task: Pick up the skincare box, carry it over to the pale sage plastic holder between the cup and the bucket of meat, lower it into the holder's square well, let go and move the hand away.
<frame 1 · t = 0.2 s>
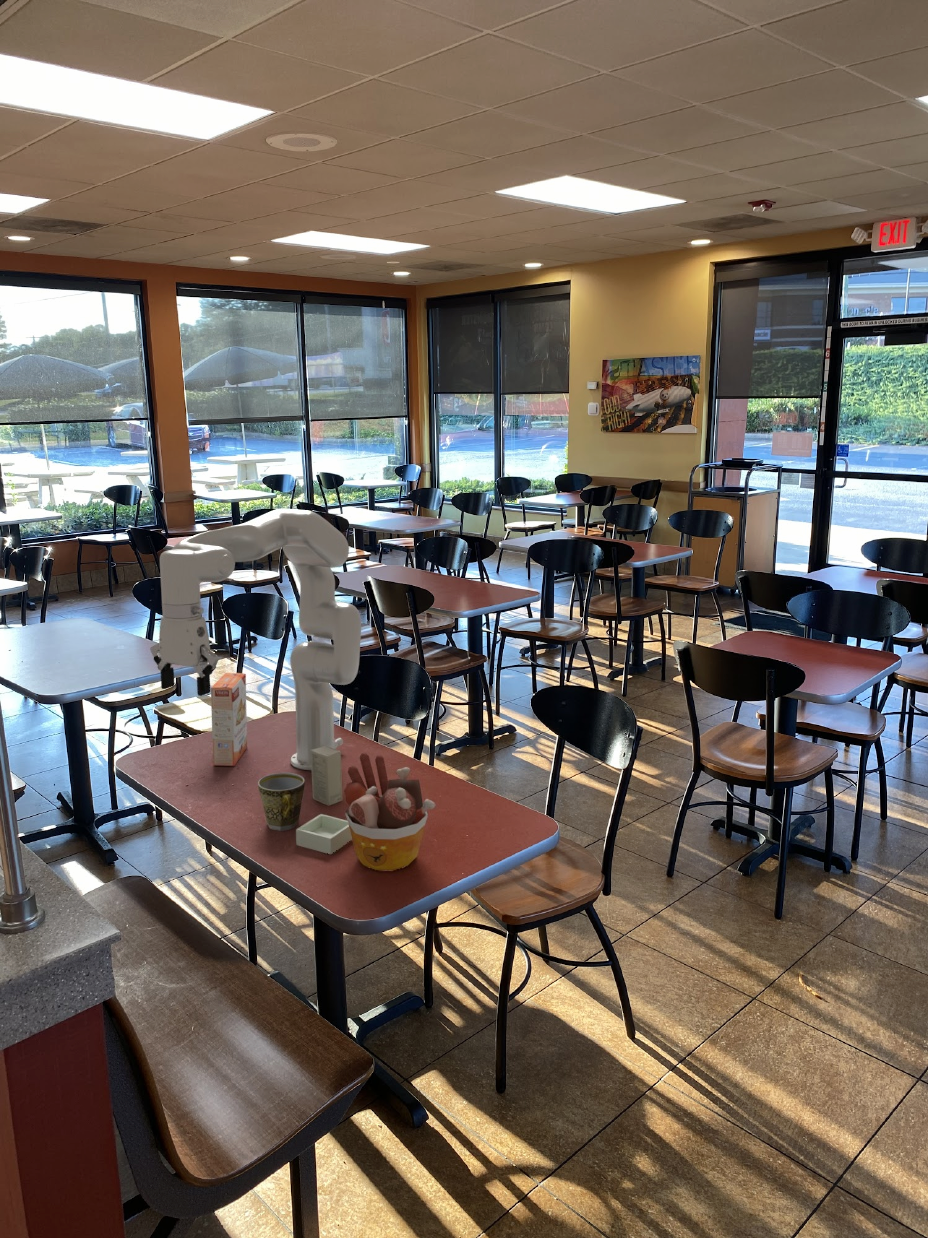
hand: (185, 690, 192), 31 cm above the table, tool pointing down, fingers open, 9 cm apart
bucket of meat: (385, 859, 187), on the table
holder: (325, 841, 194), on the table
ceramic cup: (284, 827, 201), on the table
skincare box: (327, 800, 215), on the table
cracker box: (231, 757, 240), on the table
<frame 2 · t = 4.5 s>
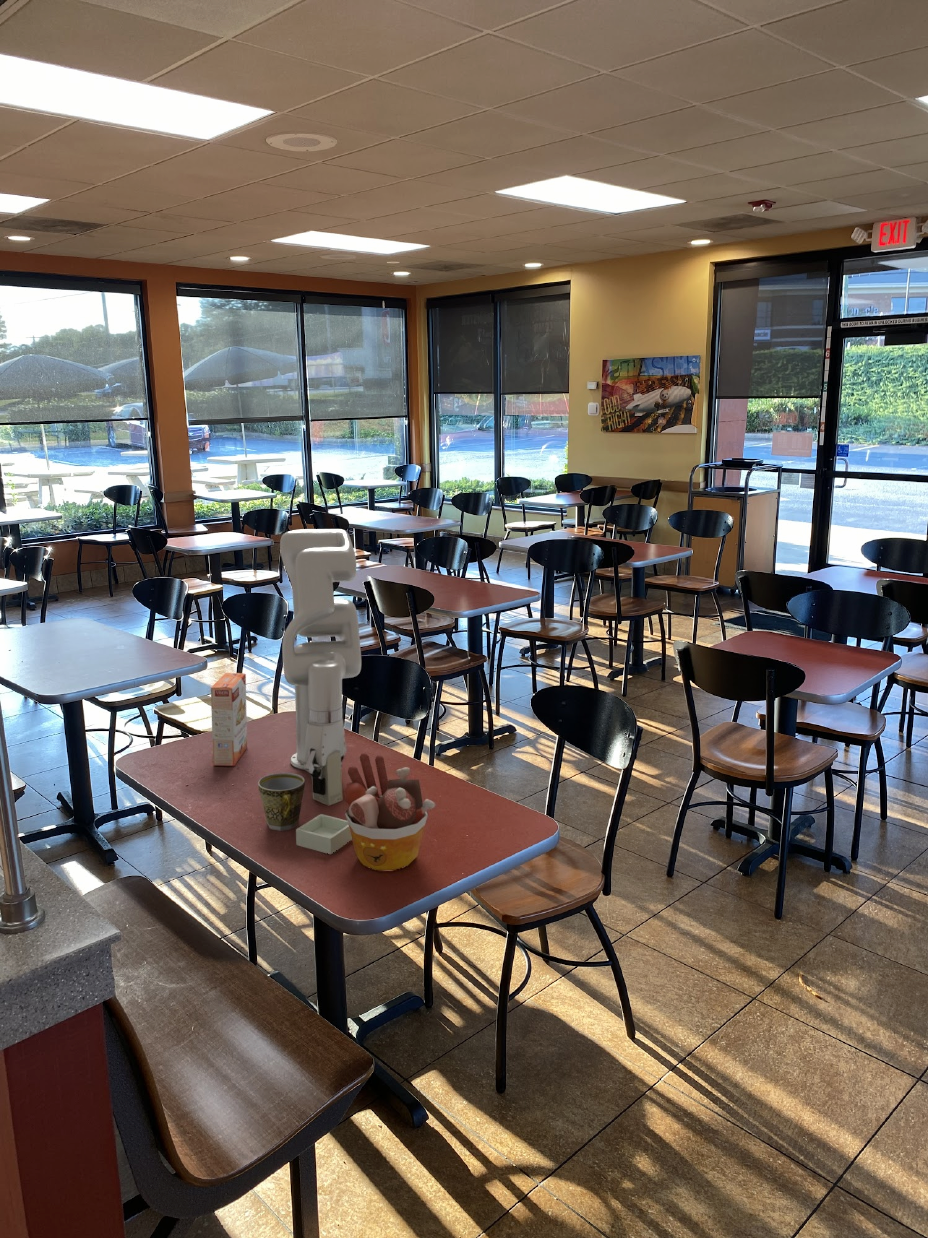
hand: (326, 788, 214), 3 cm above the table, tool pointing down, fingers closed on skincare box, 5 cm apart
skincare box: (326, 800, 215), on the table, touching gripper
everything else where it was.
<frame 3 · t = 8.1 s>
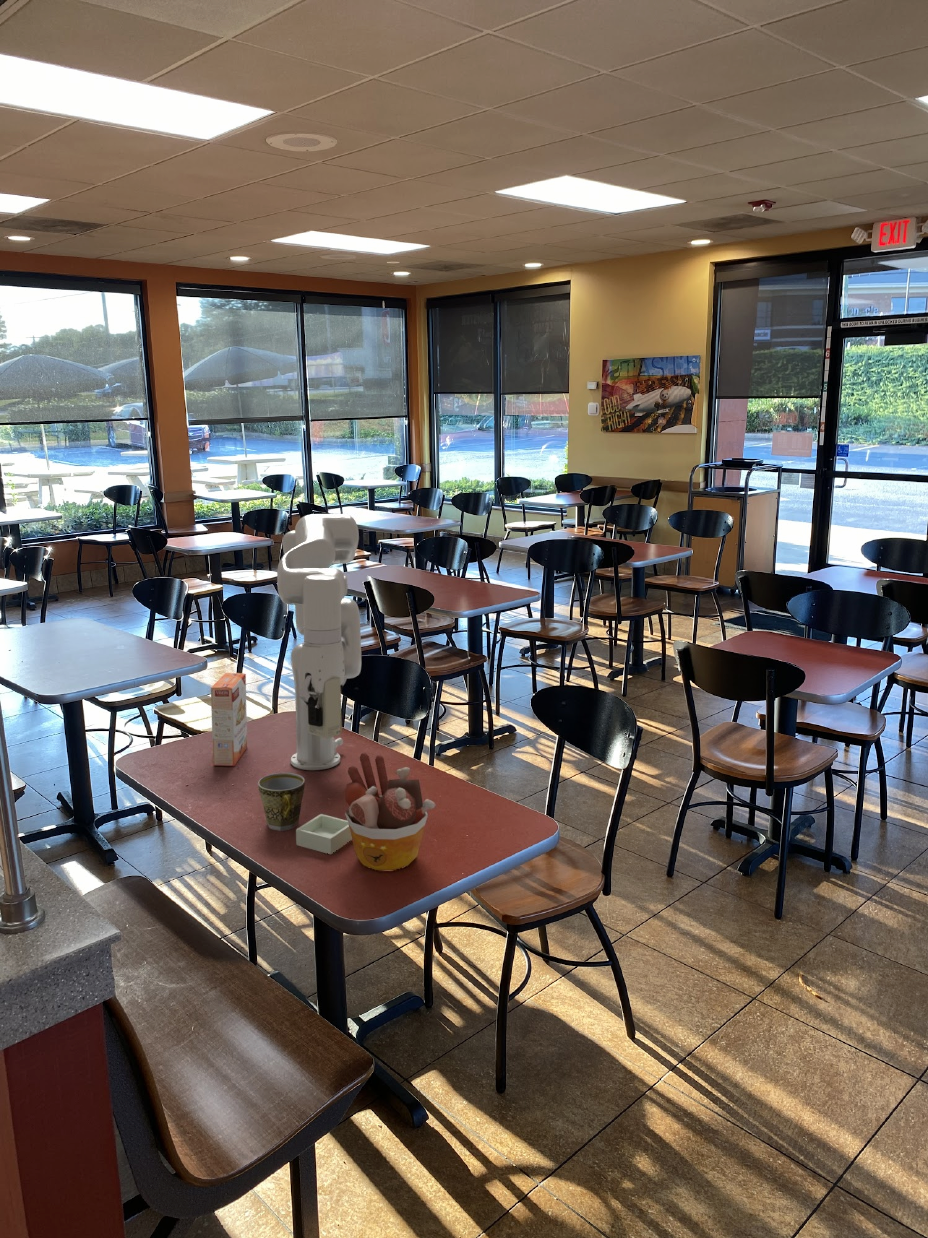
hand: (324, 720, 191), 26 cm above the table, tool pointing down, fingers closed on skincare box, 5 cm apart
skincare box: (324, 734, 191), point 23 cm above the table, touching gripper
everything else where it was.
when the fingers open (5 cm above the table, at t = 11.7 s): skincare box stays where it is, resting on holder.
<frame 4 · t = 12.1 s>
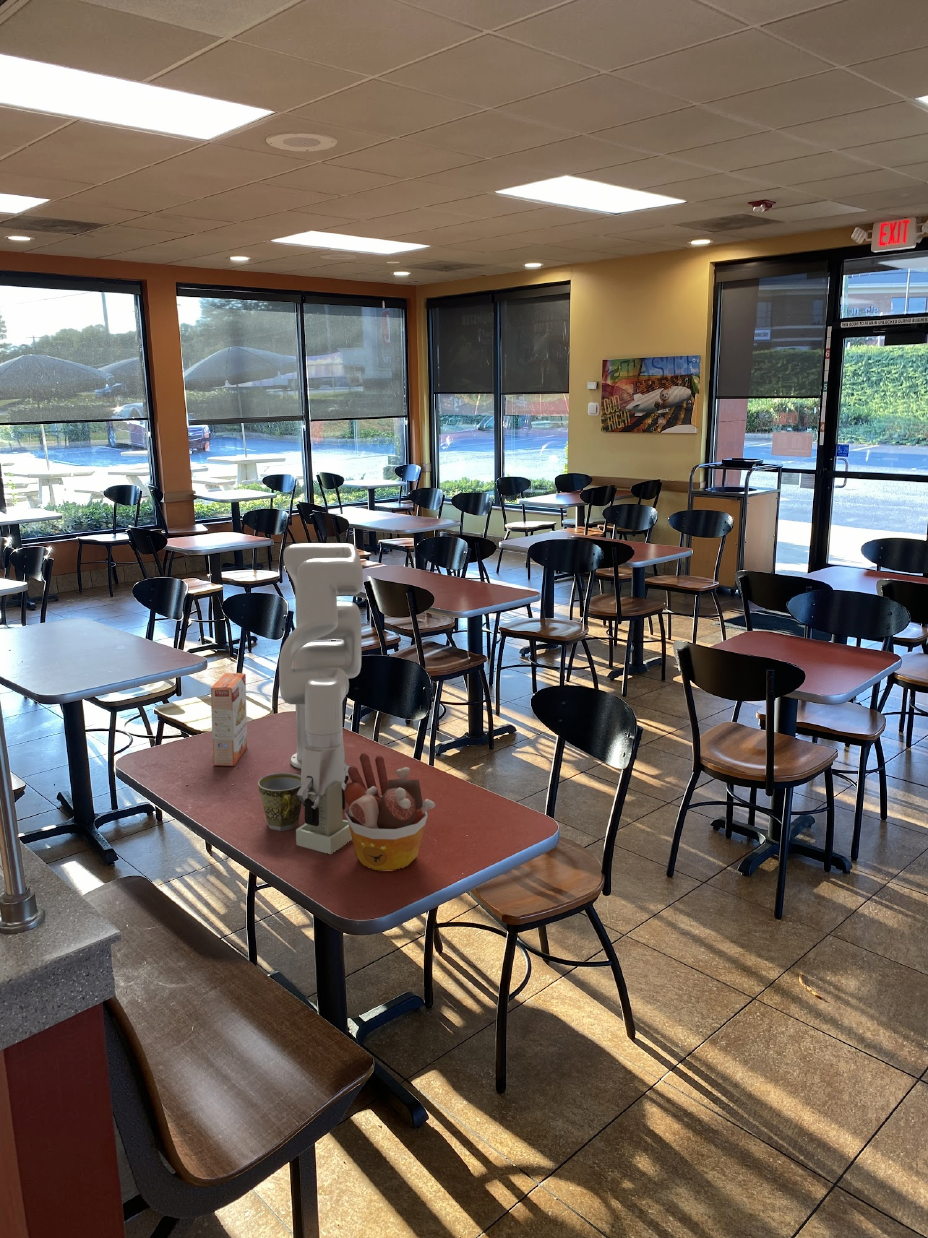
hand: (325, 816, 193), 6 cm above the table, tool pointing down, fingers open, 8 cm apart
skincare box: (325, 837, 194), point 1 cm above the table, touching holder
everything else where it was.
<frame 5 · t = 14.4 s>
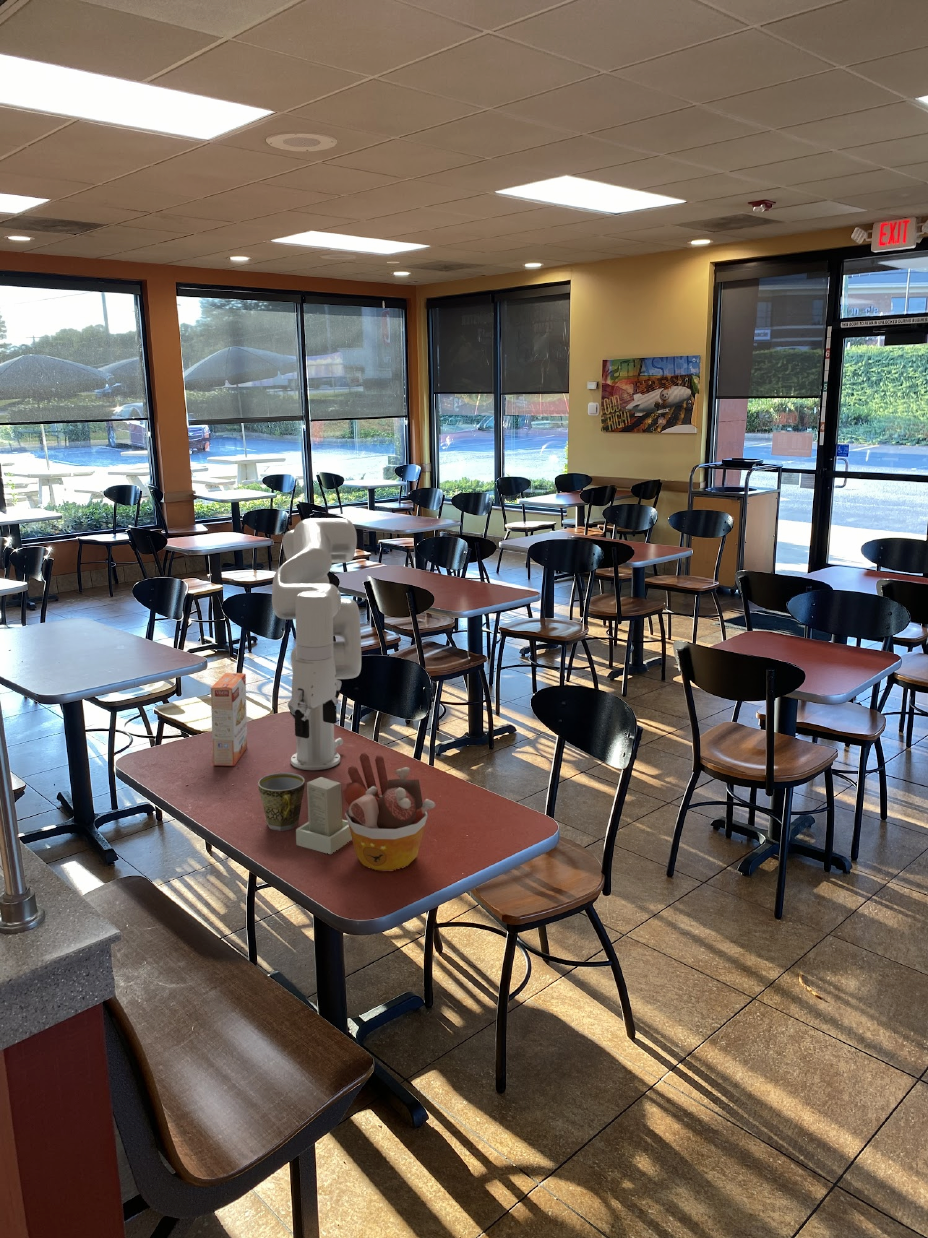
hand: (316, 729, 194), 23 cm above the table, tool pointing down, fingers open, 9 cm apart
nothing on the table moved.
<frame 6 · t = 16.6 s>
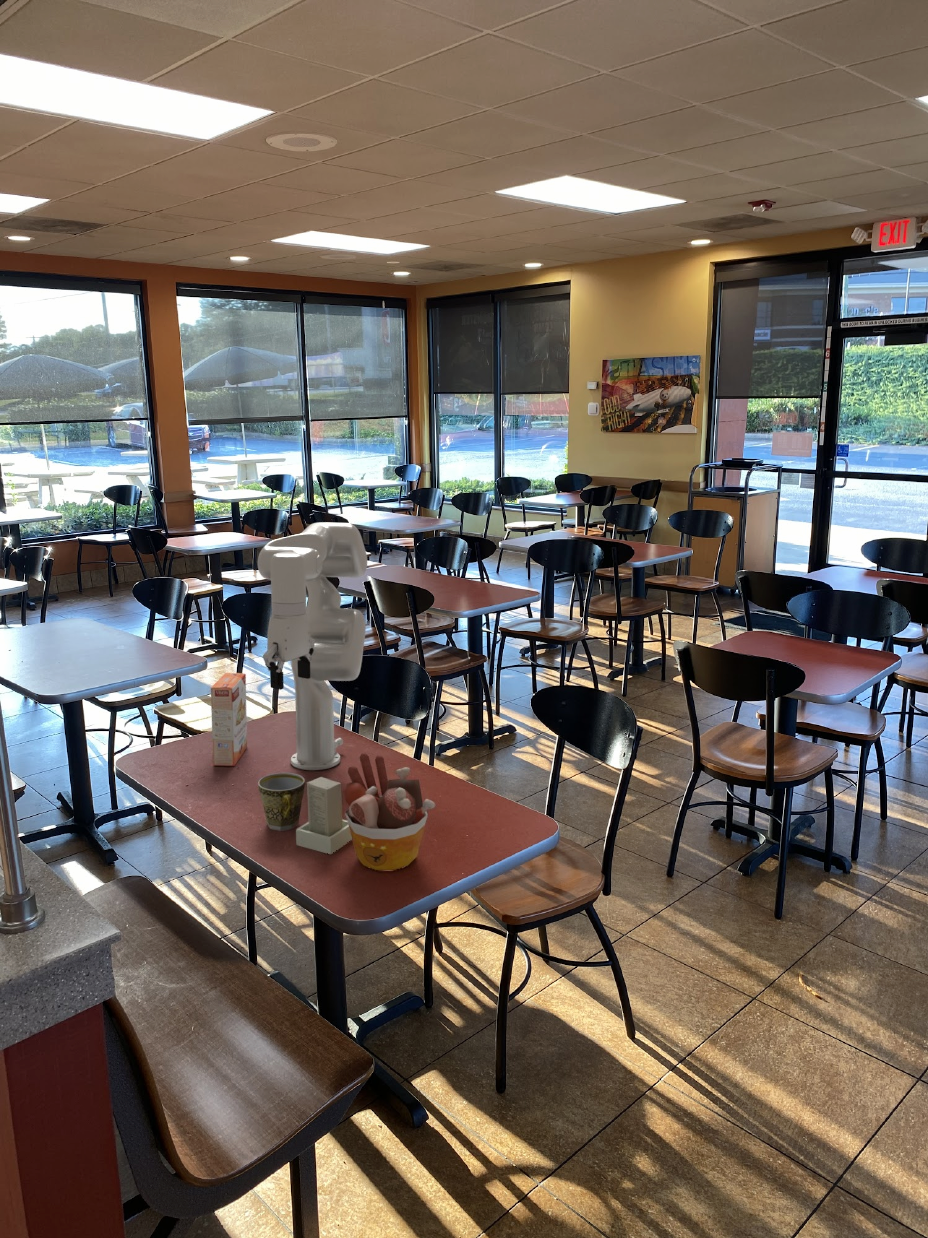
hand: (290, 683, 208), 28 cm above the table, tool pointing down, fingers open, 9 cm apart
nothing on the table moved.
at the end: skincare box 0.1 cm off-centre on the holder, point 0.8 cm above the holder's base; skincare box tilted 0°; the gripper is holding nothing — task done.
